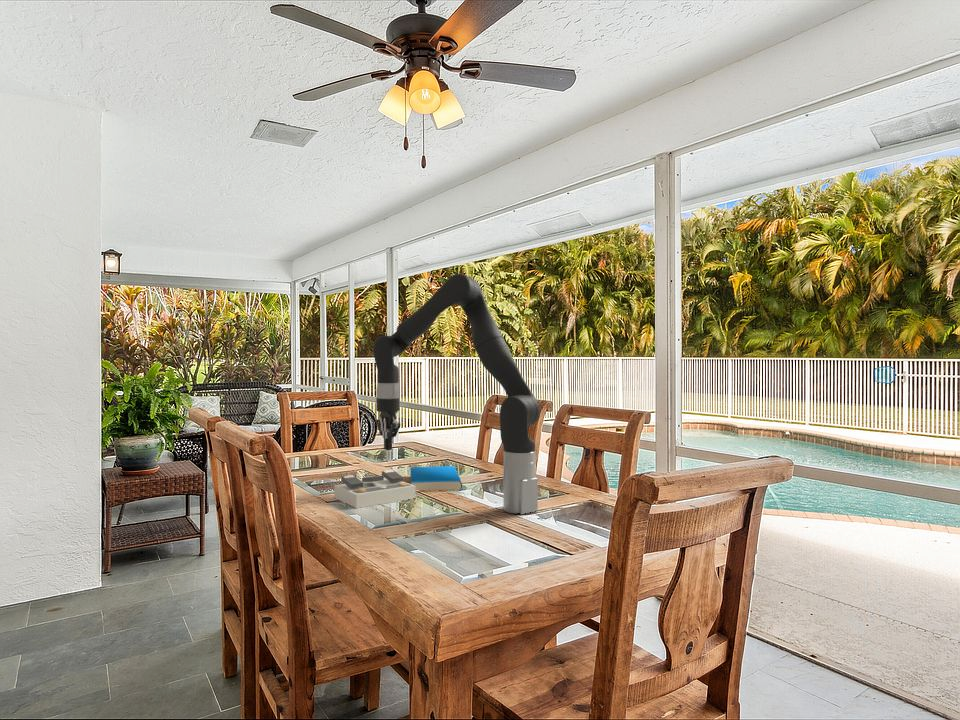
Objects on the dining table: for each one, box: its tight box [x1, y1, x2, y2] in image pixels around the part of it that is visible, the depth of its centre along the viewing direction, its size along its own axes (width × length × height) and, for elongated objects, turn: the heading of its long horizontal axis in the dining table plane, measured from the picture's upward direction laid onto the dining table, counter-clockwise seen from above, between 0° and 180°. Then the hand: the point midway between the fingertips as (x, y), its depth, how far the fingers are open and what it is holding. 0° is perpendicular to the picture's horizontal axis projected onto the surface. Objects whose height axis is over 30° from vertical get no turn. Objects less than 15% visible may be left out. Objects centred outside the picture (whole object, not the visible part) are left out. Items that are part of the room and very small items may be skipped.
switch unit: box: [333, 477, 417, 509], centre depth 187 cm, size 16×20×4 cm
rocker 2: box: [361, 475, 384, 482], centre depth 188 cm, size 7×4×2 cm, turn 37°
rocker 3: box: [381, 469, 404, 483], centre depth 192 cm, size 7×4×2 cm, turn 37°
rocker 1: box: [341, 474, 363, 489], centre depth 184 cm, size 7×4×2 cm, turn 37°
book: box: [409, 465, 463, 491], centre depth 209 cm, size 17×4×25 cm
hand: (387, 449), depth 195 cm, fingers closed
